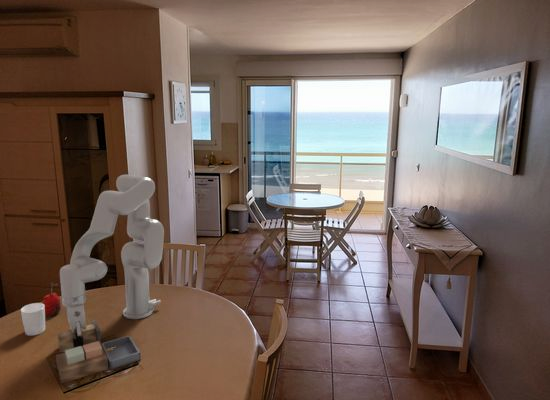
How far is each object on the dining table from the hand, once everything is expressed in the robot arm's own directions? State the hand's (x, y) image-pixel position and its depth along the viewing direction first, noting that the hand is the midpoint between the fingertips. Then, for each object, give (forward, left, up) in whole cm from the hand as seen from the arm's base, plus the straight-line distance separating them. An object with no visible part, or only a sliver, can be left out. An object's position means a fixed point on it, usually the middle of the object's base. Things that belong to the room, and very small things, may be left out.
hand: (77, 343), depth 147 cm
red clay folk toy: (+5, -31, -1) cm, 31 cm away
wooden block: (+1, +15, 0) cm, 15 cm away
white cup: (+12, -19, -1) cm, 22 cm away
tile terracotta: (-2, +15, +4) cm, 16 cm away
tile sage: (+3, +15, +4) cm, 16 cm away
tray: (-11, +15, 0) cm, 19 cm away
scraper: (0, 0, -1) cm, 1 cm away
